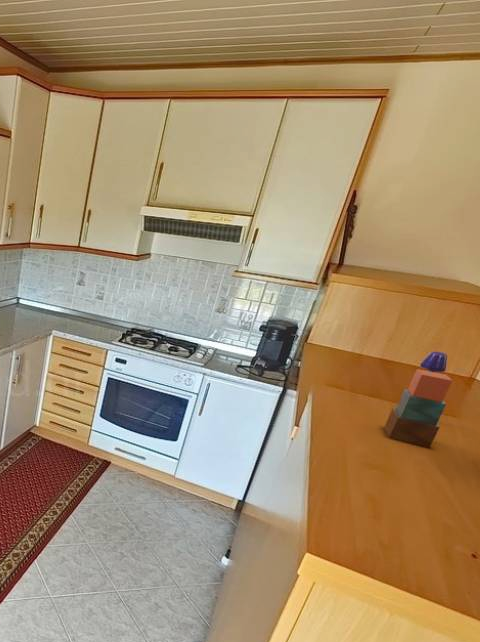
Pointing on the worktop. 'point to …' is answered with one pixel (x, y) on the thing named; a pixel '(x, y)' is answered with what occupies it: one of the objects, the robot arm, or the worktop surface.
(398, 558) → the worktop surface
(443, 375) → the toy cube
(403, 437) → the block stack
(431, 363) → the toy lamp
